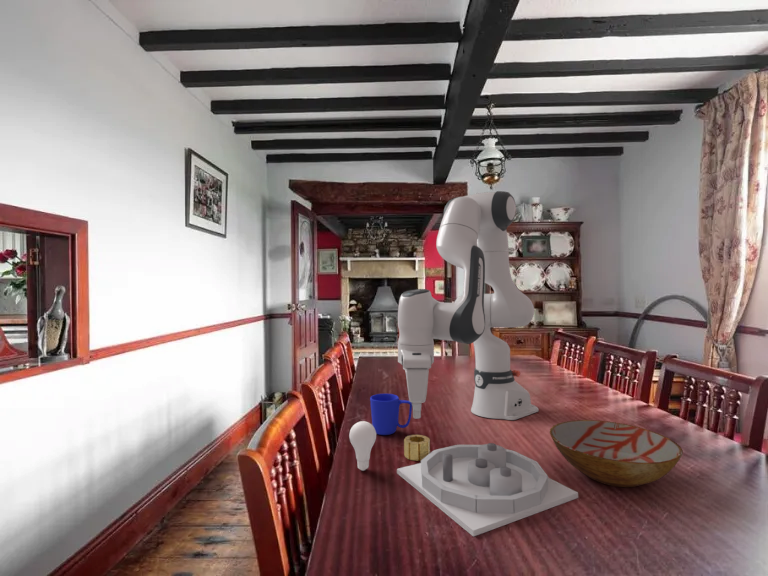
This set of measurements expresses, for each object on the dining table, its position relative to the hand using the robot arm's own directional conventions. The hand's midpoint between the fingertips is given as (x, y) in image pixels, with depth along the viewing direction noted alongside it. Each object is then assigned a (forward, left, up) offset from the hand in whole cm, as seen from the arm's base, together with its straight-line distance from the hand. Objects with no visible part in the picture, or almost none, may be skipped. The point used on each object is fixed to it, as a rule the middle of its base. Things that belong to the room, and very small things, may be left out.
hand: (416, 411), depth 99 cm
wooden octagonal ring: (0, 0, -11) cm, 11 cm away
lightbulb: (+15, +1, -11) cm, 18 cm away
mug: (-2, -17, -11) cm, 21 cm away
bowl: (-32, +29, -11) cm, 45 cm away
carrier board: (-4, +19, -11) cm, 22 cm away
